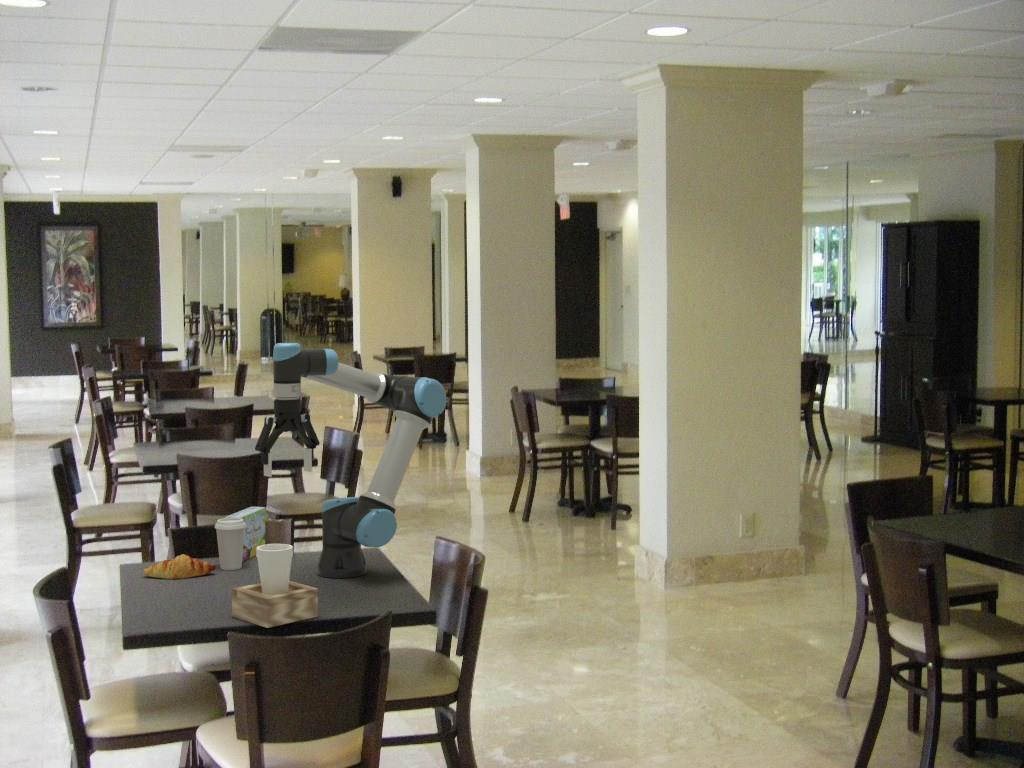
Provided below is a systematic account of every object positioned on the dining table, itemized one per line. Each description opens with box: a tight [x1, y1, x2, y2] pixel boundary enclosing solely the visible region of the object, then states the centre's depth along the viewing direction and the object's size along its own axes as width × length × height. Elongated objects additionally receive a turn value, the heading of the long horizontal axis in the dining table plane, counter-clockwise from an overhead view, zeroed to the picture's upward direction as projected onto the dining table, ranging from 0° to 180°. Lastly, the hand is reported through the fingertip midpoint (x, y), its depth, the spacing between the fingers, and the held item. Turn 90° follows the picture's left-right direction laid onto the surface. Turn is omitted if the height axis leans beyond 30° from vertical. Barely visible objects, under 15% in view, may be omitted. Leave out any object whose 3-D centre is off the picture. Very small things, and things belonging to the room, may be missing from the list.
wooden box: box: [231, 580, 319, 629], centre depth 326 cm, size 16×16×8 cm
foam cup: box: [256, 543, 294, 596], centre depth 325 cm, size 10×9×13 cm
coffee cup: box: [214, 517, 246, 571], centre depth 383 cm, size 10×10×15 cm
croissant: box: [143, 553, 217, 580], centre depth 372 cm, size 21×10×8 cm, turn 103°
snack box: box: [224, 506, 267, 563], centre depth 398 cm, size 21×6×15 cm, turn 168°
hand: (288, 473), depth 346 cm, fingers open, 13 cm apart
